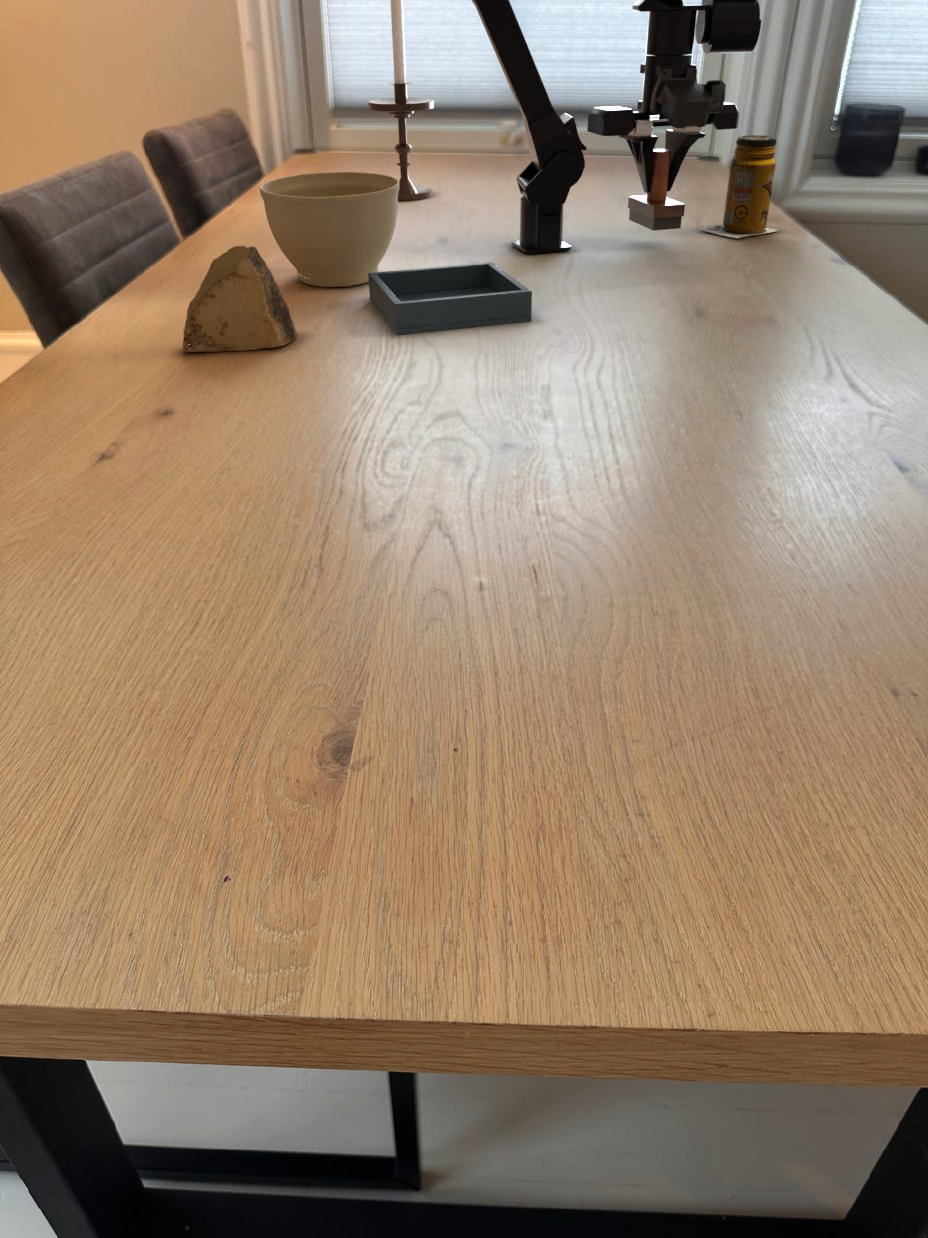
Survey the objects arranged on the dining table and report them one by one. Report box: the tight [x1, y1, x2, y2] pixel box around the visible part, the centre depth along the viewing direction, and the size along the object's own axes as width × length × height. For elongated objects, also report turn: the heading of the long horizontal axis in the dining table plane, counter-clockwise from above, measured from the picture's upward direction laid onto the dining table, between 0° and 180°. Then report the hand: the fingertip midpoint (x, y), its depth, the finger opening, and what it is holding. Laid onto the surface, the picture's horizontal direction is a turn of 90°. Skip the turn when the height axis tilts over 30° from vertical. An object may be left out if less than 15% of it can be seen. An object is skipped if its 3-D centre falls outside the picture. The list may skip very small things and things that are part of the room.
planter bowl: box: [259, 171, 400, 288], centre depth 113 cm, size 16×16×11 cm
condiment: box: [699, 134, 779, 239], centre depth 131 cm, size 7×8×12 cm
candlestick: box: [367, 0, 435, 202], centre depth 153 cm, size 11×11×35 cm
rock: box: [182, 245, 299, 353], centre depth 93 cm, size 11×9×10 cm
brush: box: [627, 148, 686, 231], centre depth 125 cm, size 8×4×9 cm, turn 16°
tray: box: [368, 261, 533, 336], centre depth 102 cm, size 14×15×3 cm
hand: (657, 191), depth 125 cm, fingers closed on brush, 2 cm apart
